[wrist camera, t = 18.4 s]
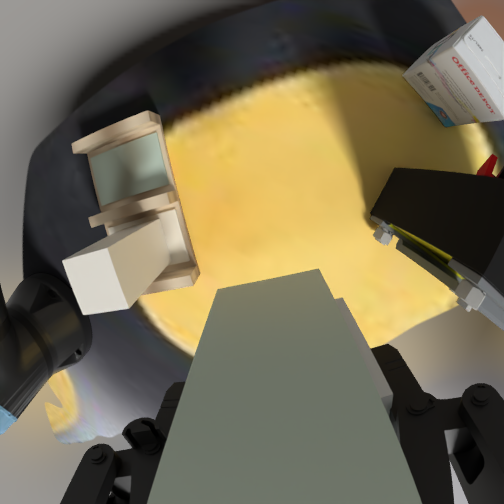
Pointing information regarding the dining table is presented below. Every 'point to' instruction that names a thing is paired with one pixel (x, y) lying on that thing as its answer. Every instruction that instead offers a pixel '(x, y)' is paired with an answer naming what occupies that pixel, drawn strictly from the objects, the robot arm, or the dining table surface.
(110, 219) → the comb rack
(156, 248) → the white tall block
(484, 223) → the electrical component
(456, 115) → the ink box
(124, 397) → the dining table surface
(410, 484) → the sage plug
